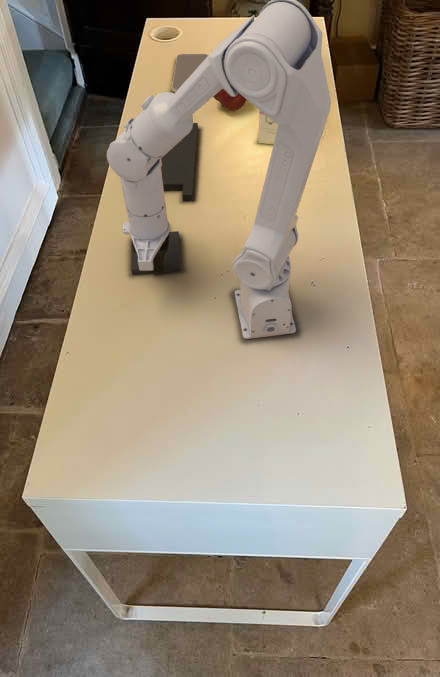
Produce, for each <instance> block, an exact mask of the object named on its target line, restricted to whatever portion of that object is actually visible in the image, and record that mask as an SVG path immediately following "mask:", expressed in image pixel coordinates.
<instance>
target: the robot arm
mask: <svg viewBox="0 0 440 677" xmlns="http://www.w3.org/2000/svg"><path fill="white" fill-rule="evenodd" d="M322 47H323V31H322V29H321V28H320V27H319V25H318V24H317V22H316V21H315V19H314V18H313V16H312V14H311V13H310V12H309V11H308V9H307V8H306V6H304V5H303V4H302V3H301V2H299V1H298V0H297V1H296V0H270V1H268V2H267V3H266V4H265V5H264V6H263V7H262V9H261V10H260V12H259V14H258V15H257V16H256V14H253V15H252V16H250V17H249V18H248V19H246V20H244V22H243V23H241V24H240V25H239V26H237V28H235V29H234V30H233V31H232V32H231V33H229V35H227V36H226V37H225V38H224V39H222V40H221V41H220V42H219V43H218V44H217V45H216V46H215V47H214V49H213V50H212V51H211V52H210V53H209V54H207V55H208V57H207V58H206V59H205V60H204V61H203V62H202V63H201V64H200V65H199V67H198V68H197V69H196V70H195V71H194V72H193V73H192V74H191V76H190V77H189V78H188V79H187V80H186V81H185V82H184V83H183V85H182V86H181V87H180V88H179V89H178V90H177V91H176V92H170V91H163V92H159V93H158V94H156V95H154V96H153V94H149V95H148V96H147V97H146V99H144V100H143V101H142V103H141V104H140V107H141V108H142V110H141V111H140V113H138V115H137V116H136V117H135V118H134V117H130V118H129V119H128V120H127V121H126V122H125V124H124V130H123V131H122V132H121V133H120V134H119V135H118V136H117V137H116V139H115V140H113V141H112V142H110V144H109V146H108V149H107V151H106V160H107V163H108V165H109V166H110V169H111V170H112V171H113V173H115V174H116V175H117V176H118V177H119V180H120V184H121V190H122V194H123V199H124V204H125V209H126V214H127V219H128V221H125V222H123V224H122V234H123V235H129V236H130V238H131V247H132V250H133V252H134V253H136V254H137V255H138V265H139V270H140V271H141V270H144V271H150V272H162V270H163V262H164V255H165V254H166V252H167V250H168V247H169V240H168V239H169V237H170V232H171V226H170V221H169V219H168V213H167V205H166V196H165V190H164V189H163V181H162V173H161V166H162V161H161V158H162V157H163V156H164V155H166V154H167V153H168V152H169V151H170V150H171V149H172V148H173V147H174V146H175V145H176V144H177V143H179V142H180V141H181V140H182V139H183V138H184V137H185V136H186V135H187V134H188V133H189V132H190V131H191V129H192V127H193V123H194V116H193V115H194V114H195V113H196V112H197V111H198V110H200V109H201V108H202V107H203V106H204V105H205V104H206V103H208V102H209V101H210V100H211V99H212V98H214V97H213V96H215V95H216V94H217V93H218V92H219V91H220V90H221V89H224V90H225V91H226V92H227V93H228V94H229V95H230V96H233V97H235V96H236V95H237V94H238V93H240V94H241V95H242V96H243V97H244V98H246V99H247V100H246V101H248V102H249V103H250V104H252V105H253V106H254V107H255V108H256V109H258V110H260V111H261V112H263V113H264V114H265V115H266V116H268V117H269V118H270V119H271V120H272V121H274V122H275V123H276V124H279V125H278V129H277V133H276V137H275V141H274V144H272V150H271V153H270V157H269V162H268V166H267V170H266V174H265V178H264V182H263V186H262V190H261V194H260V197H259V202H258V205H257V210H256V214H255V219H254V223H253V225H252V228H251V229H250V232H249V233H248V236H247V238H246V241H245V243H244V245H243V247H242V249H241V250H240V252H239V253H238V255H237V256H236V257H234V259H233V261H232V270H233V273H234V275H235V276H236V278H237V279H238V280H239V285H240V286H239V288H240V289H237V290H235V291H234V298H235V303H236V307H237V308H236V309H237V313H238V318H239V323H240V328H241V332H242V333H241V334H242V338H243V339H245V340H250V339H257V338H258V339H259V338H266V337H272V336H273V337H274V336H282V335H289V334H295V333H296V331H297V328H296V325H295V321H294V317H293V313H292V312H293V311H292V310H293V306H292V302H291V297H290V293H289V292H290V291H289V290H290V280H291V271H292V270H291V269H292V265H291V260H290V254H291V252H292V250H293V248H294V247H296V245H297V243H298V241H299V232H298V228H297V224H298V219H299V216H298V215H297V213H298V210H299V207H300V204H301V200H302V197H303V193H304V192H305V189H306V185H307V183H308V179H309V176H310V173H311V170H312V168H313V163H314V160H315V158H316V156H317V155H316V154H317V151H318V149H319V146H320V142H321V139H322V137H323V133H324V131H325V127H326V125H327V121H328V117H329V114H330V112H331V107H332V106H331V105H332V100H331V94H330V90H329V85H328V81H327V75H326V70H325V66H324V61H323V56H322V49H323V48H322Z"/></svg>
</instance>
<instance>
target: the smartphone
mask: <svg viewBox="0 0 440 677" xmlns="http://www.w3.org/2000/svg"><path fill="white" fill-rule="evenodd" d="M208 55H209V54H207V53H179V54H177V55H176V58H175V66H174V72H173V78H172V84H171V90H172V93H175V92H176V91H177V90H178V89H179V88H180V87H181V86H182V85H183V83H184V82H185V81H186V80H187V79H188V78H189V77H190V76H191V74H192V73H193V72H194V71H195V70H196V69H197V68H198V67H199V65H200V64H201V63H202V62H203V61H204V60H205V59H206V58H207V57H208Z"/></svg>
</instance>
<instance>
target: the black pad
mask: <svg viewBox="0 0 440 677" xmlns="http://www.w3.org/2000/svg"><path fill="white" fill-rule="evenodd" d="M198 136H199V123H198V122H193V127H192V129H191V131H190V132H189V133H188V134H187V135H186V136H185V137H184V138H183V139H182V140H181V141H180V142H179V143H177V144H176V145H175V146H174V147H173V148H172V149H171V150H170V151H169V152H168V153H167V154H166V155H164V156H163V157H162V158H161V161H162V166H161V173H162V181H163V189H164V191H182V201H183V202H193V201H194V190H195V178H196V165H197V164H196V162H197V150H198Z"/></svg>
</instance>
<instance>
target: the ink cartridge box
mask: <svg viewBox="0 0 440 677" xmlns="http://www.w3.org/2000/svg"><path fill="white" fill-rule="evenodd" d="M258 110H259V109H258ZM258 115H259V116H258V143H259V144H268V145H274V141H275V137H276V133H277V129H278V125H279V124H276V123H275V122H274V121H272V120H271V119H270V118H269V117H268V116H266V115H265V114H264V113H263V112H261V111H260V110H259V111H258Z"/></svg>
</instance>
